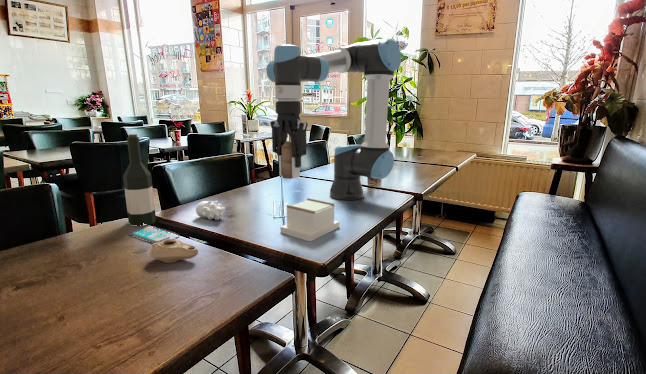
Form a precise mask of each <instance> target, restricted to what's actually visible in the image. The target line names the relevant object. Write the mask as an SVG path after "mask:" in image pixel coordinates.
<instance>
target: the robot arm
mask: <svg viewBox="0 0 646 374" xmlns="http://www.w3.org/2000/svg"><path fill="white" fill-rule="evenodd" d="M401 64H402V54H401V50H400V47H399V45H398V44H397V42H396V41H395V40H394V39H391V38H380V39H374V40H367V41H360V42H355V43H352V44H349V45H346V46H342V47H337V48H336V49H334V50H333V51H328V52H321V53H314V54H305V55H304V54H302V53H301V49H300V47H299V46H298V45H295V44H279V45H276V46H275V48H274V53H273V60H271V61H269V62H268V64H267V65H266V71H265V72H266V76H267V78H268V79H269V80H270V81H271V82H273V83H274V85H275V86H274V92H275V95H274V96H275V97H274V98H275V100H277V101H276V102H275V113H276V114H277V117H276V119H275V120H272V121H271V120H270V123H269V124H270V127H271V145H272V146H271V147H272V148H271V149H272V150H271V151H272V152H273V153H275V154H276V155H277V165H279V166H278V168H279V169H278V171H279V172H278V173H279V176H280V177H283V176H282V147H281V146H282V145H283V144H284V143H285V142H287V141H288V136H290V137H289V138H290V141H291V144H292V149H293V154H294V156H292V178H293V179H297V178H298V179H299V178H300V177H301V172H300V171H301V170H300V168H301V167H302V157H303V156H306V155H307V130H308V129H307V128H308V125H309V124H308V122H307V121H305V122H304V121H302V120H301V118H300V114H301V112H302V111H301V103H302V102H301V101H299V100H301V97H302V96H301V83H304V82H305V83H306V82H314V83H317V82H318V83H319V82H321V83H322V82H324V81H325V80H326V79H327V78H328V76H329V74H332V73H336V72H337V73H338V74H345V73H363V77H364V78H365V80H366V81H367V86H366V104H365V105H366V108H365V123H364V127H365V128H364V129H365V130H364V140H363V142H362V143H361V144H346V145H337V146H336V147H335V148H334V155H333V161H334V162H333V181H332V183H331V187H330V189H329V197H331V198H332V199H335V200H341V201H355V200H361V199H363V198H364V189H363V186H362V183H361V177H365V178H370V179H377V180H378V179H379V180H384V179H386V178H387V177H388V176H389V175H390V173H391V172H392V170H393V168H394V165H395V157H394V153H393V152H391V151H390V145H388V143H387V141H386V140H387V125H388V113H389V112H388V109H389V92H390V81H391V80H392V79H393V78H394V76H395V74H394V73H395V71H398V70H399V69H400V66H401Z"/></svg>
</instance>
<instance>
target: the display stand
mask: <svg viewBox="0 0 646 374" xmlns="http://www.w3.org/2000/svg"><path fill="white" fill-rule="evenodd" d="M339 228H340V221H339V220H335V203H333V202H330V201H325V200H319V199H315V198H311V197H310V198H309V197H307V198H306V200H303V201H301V202H298V203H295V204H287V205H286V224H284V225H282V226H280V233H281V234H284V235H287V236H291V237H293V238H297V239H300V240H302V241H306V242H307V241H308V242H311V241H314V240H317V239H318V238H320V237H322V236H324V235H327V234H328V233H330V232H332V231H335V230H337V229H339Z"/></svg>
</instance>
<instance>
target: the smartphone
mask: <svg viewBox="0 0 646 374" xmlns="http://www.w3.org/2000/svg"><path fill="white" fill-rule="evenodd" d="M152 227H153V229H154V228H155V229H157V231H158V232H160V233H161V232H162V231H163V233H165V232H166V234H167V233H168V232H170V233H169V234H168V235H170V234H171V233H173V235H174V234H176V235H178V236H181V235H180V234H179V233H176V232H172V231H168V230H166V229H163V228H159V227H157V226H156V227H155V226H152ZM159 229H160V230H159ZM158 232H157V233H158ZM154 233H155V232H154V231H153V232H151V231H146V230H144V228H141V229H138V230H135V231H131V232H129V233H128V236H129V235H131V236H135V237H138V238H141V239H144V240H147V241H150V242H153V243H157V242H162V241H163V240H165V239H169V238H170V237H168V236H166V235H162V234H160V235H159V234H157V233H155V234H154ZM131 236H130V237H131Z"/></svg>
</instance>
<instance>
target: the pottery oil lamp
mask: <svg viewBox="0 0 646 374" xmlns="http://www.w3.org/2000/svg"><path fill="white" fill-rule="evenodd" d="M148 255H149V256H150V257H152V258H153V259H156V260H158V261H161V262H163V263H168V264H169V263H176V262H178V261H179V260H180V261H181V260H188V259H189V260H190V259H192V258H193V259H194V257H196V256H198V255H199V249H198V247H197V246H194V245H192V244H191V245H190V244H187V243H185V242H183V241H181V240H177V239H165V240H163V241H162V242H157V243H153V244H152V243H151V249H150V251H149V252H148Z"/></svg>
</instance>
